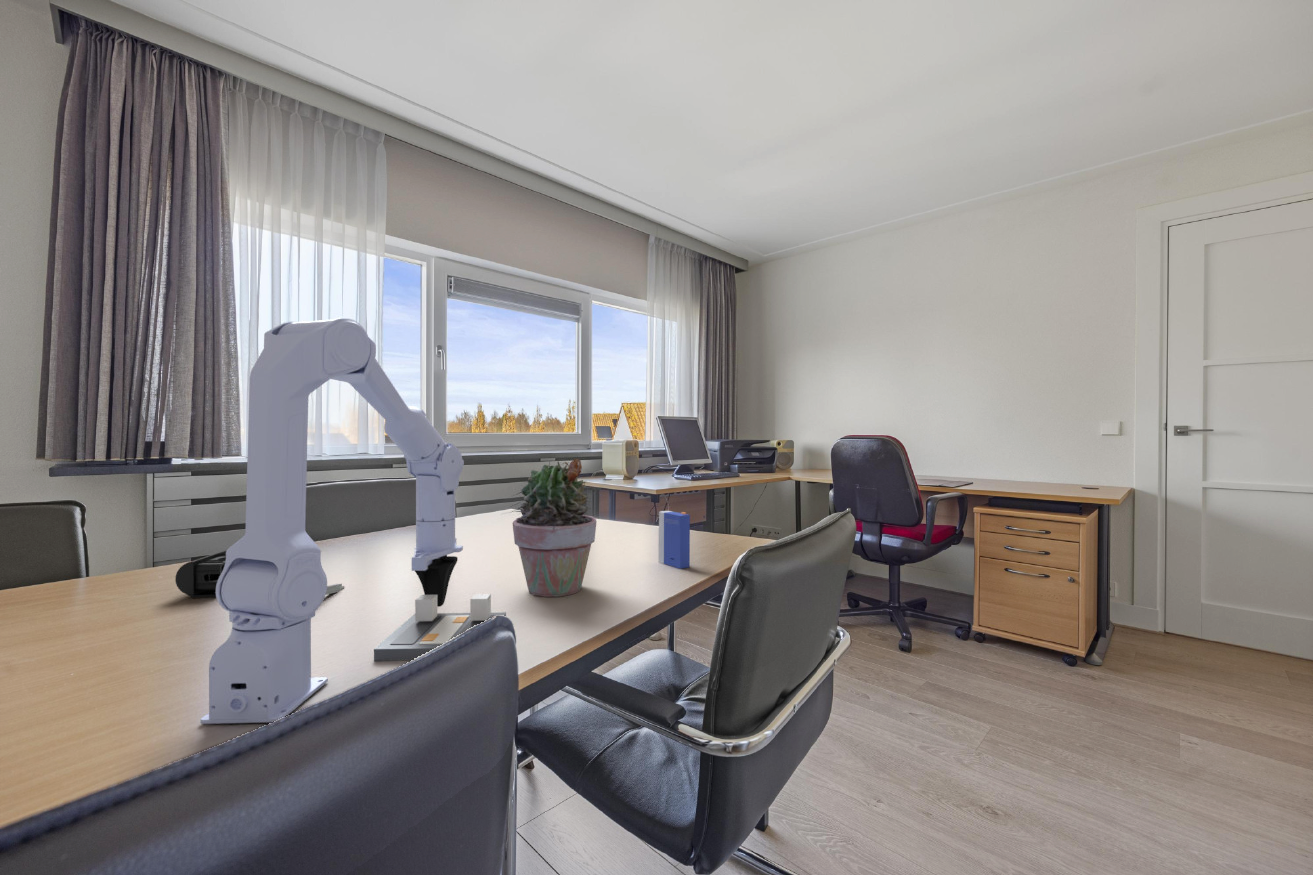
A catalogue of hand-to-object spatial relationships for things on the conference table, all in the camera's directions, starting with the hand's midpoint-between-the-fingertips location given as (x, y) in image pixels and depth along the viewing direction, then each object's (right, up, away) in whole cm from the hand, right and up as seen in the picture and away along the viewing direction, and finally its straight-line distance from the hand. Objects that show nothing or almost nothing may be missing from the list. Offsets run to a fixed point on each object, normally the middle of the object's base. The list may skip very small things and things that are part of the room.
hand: (435, 605), depth 87 cm
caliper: (-24, -3, +8) cm, 26 cm away
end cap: (-47, -3, +16) cm, 50 cm away
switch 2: (+8, -1, -4) cm, 9 cm away
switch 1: (0, -1, -4) cm, 4 cm away
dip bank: (+4, -3, -7) cm, 9 cm away
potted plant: (+15, -3, +18) cm, 23 cm away
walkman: (+39, -3, +38) cm, 54 cm away
